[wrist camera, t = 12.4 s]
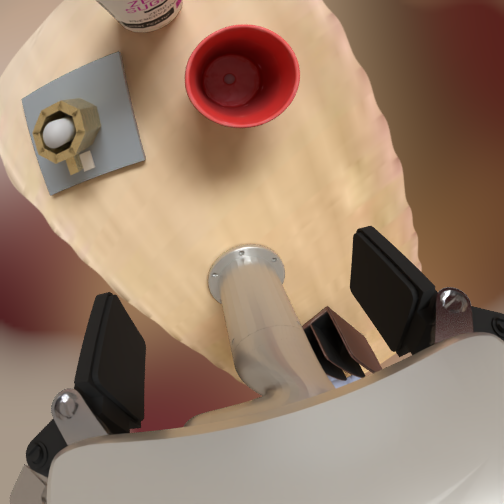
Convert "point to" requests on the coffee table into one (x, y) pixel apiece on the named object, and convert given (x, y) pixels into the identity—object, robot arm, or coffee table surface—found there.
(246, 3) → the coffee table surface
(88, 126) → the cup
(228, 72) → the flower pot
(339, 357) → the letter holder
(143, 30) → the supplement can
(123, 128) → the post base
